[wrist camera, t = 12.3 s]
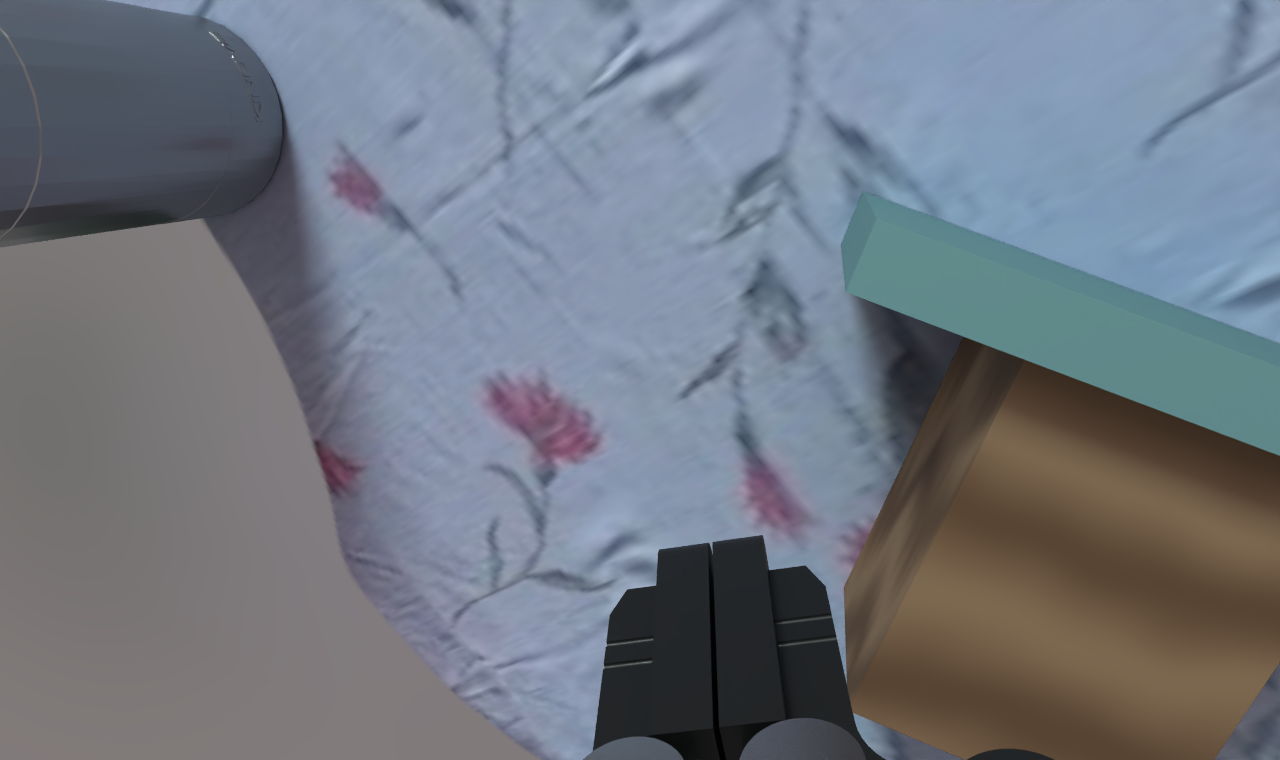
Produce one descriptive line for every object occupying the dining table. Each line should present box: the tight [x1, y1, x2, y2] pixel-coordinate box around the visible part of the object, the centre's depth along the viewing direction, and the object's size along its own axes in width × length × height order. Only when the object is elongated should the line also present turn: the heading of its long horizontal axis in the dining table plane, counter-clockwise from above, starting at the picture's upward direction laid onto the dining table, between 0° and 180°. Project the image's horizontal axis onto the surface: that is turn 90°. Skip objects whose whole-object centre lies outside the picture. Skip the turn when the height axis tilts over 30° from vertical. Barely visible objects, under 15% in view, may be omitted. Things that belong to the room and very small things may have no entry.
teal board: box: [841, 191, 1280, 456], centre depth 33 cm, size 2×24×12 cm, turn 71°
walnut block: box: [844, 337, 1280, 760], centre depth 37 cm, size 15×12×10 cm
